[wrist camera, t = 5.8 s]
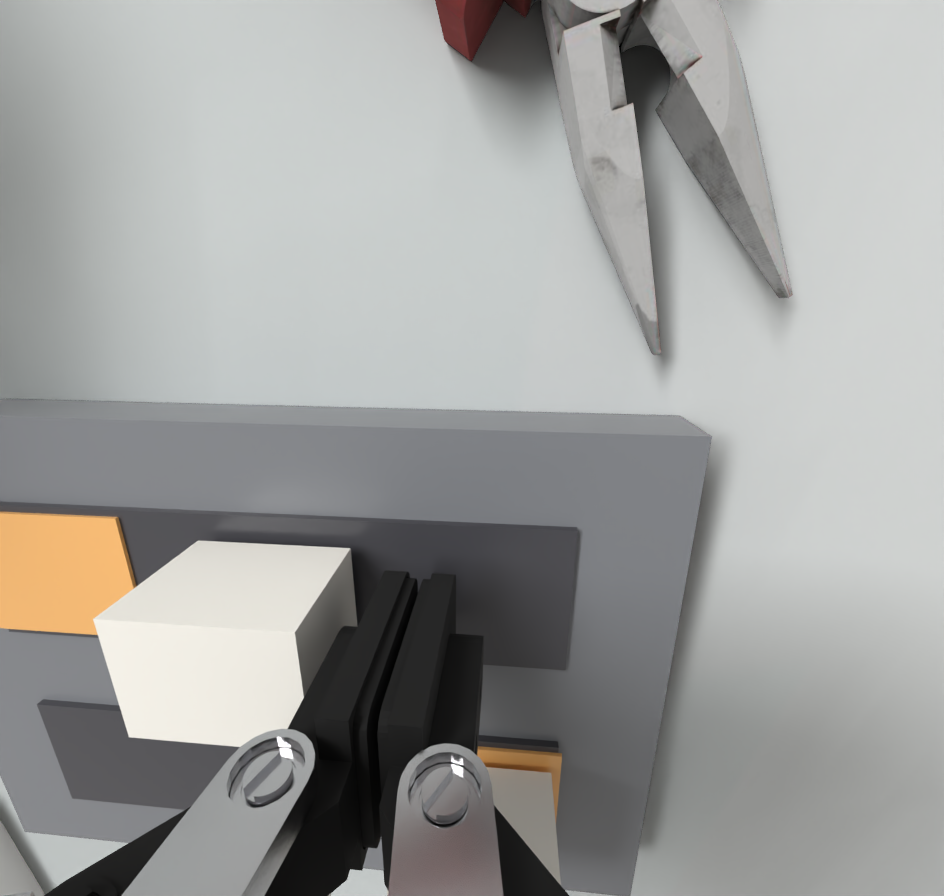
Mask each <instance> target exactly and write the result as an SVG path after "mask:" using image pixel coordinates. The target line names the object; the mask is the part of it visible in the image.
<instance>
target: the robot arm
mask: <svg viewBox="0 0 944 896" xmlns="http://www.w3.org/2000/svg"><path fill="white" fill-rule="evenodd" d="M483 655H484V636H480V635H466V634H456V575H455V574H440V573H432V575H431V578H430V579H423V580H422V583H421V586H420V589H419V592H418V582H417V579H416V578H410V574H409V572H407V571H391V570H386V571H384V573H383V575H382V577H381V579H380V581H379V583H378V585H377V587H376V589H375V591H374V594H373V596H372V598H371V600H370V602H369V604H368V606H367V608H366V610H365V612H364V614H363V617H362V619H361V621H360V623H359V625H358V627H354V626H344V627H342V628H341V629H340V631H339V632H338V634H337V636H336V638H335V640H334V642H333V644H332V645H331V647H330V649H329V651H328V653H327V655H326V657H325V659H324V661H323V662H322V664H321V666H320V668H319V670H318V672H317V674H316V676H315V678H314V679H313V681H312V683H311V685H310V687H309V689H308V691H307V693H306V695H305V696H304V698H303V700H302V702H301V704H300V706H299V708H298V710H297V712H296V714H295V715H294V717H293V719H292V721H291V723H290V725H289V727H288V729H278V730H273V731H268V732H265V733H263V734H261V735H259V736H256V737H254V738H252V739H251V740H250V741H248V742H247V743H245V744H244V745H242V746H241V747H240V748H239V749H238V750H237V751H236V752H235V753H234V754H233V755H232V756H231V757H230V758H229V759H228V760H227V762H226V763H225V764H224V765H223V767H222V768H221V769H220V770H219V772H218V773H217V774H216V776H215V777H214V778H213V779H212V781H211V782H210V783H209V785H208V786H207V787H206V788H205V790H204V791H203V792H202V793H201V795H200V796H199V797H198V799H197V800H196V801H195V802H194V804H193V805H192V806H191V807H189V808H187V809H186V810H184V811H182V812H181V813H179V814H177V815H176V816H174V817H172V818H171V819H169V820H167V821H166V822H164V823H162V824H160V825H159V826H157V827H155V828H154V829H152V830H150V831H149V832H147V833H145V834H144V835H142V836H140V837H139V838H137V839H135V840H134V841H132V842H130V843H128V844H127V845H125V846H123V847H122V848H120V849H118V850H117V851H115V852H113V853H112V854H110V855H108V856H107V857H105V858H103V859H102V860H100V861H98V862H96V863H95V864H93V865H91V866H90V867H88V868H86V869H85V870H83V871H81V872H80V873H78V874H76V875H75V876H73V877H71V878H70V879H68V880H66V881H65V882H63V883H62V884H60V885H59V886H57V887H56V888H55V889H53V890H52V891H50V892H49V893H48V894H46V895H45V896H331V892H333V891H334V890H335V889H336V888H337V887H339V886H340V885H341V884H342V883H343V882H345V881H346V880H347V877H348V874H349V870H350V869H354V870H362V869H363V865H364V862H365V858H366V854H367V850H368V848H376V849H377V847H378V845H379V842H380V839H382V853H383V868H384V882H385V886H386V887H387V889H388V891H389V892H388V896H569V895H568V894H567V893H566V891H565V890H564V889H563V888H562V886H561V885H560V884H559V883H558V882H557V880H556V879H555V878H554V877H553V876H552V874H551V873H550V872H549V871H548V870H547V868H546V867H545V866H544V865H543V863H542V862H541V861H540V860H539V859H538V857H537V856H536V855H535V854H534V853H533V851H532V850H531V849H530V848H529V847H528V845H527V844H526V843H525V842H524V840H523V839H522V838H521V837H520V836H519V834H518V833H517V832H516V831H515V830H514V828H513V827H512V826H511V825H510V824H509V822H508V821H507V820H506V819H505V818H504V816H503V815H502V814H501V813H500V811H499V810H498V809H497V808H496V807H495V805H494V802H493V792H492V784H491V780H490V776H489V772H488V770H487V768H486V766H485V765H484V763H483V762H482V760H481V758H479V757H478V756H477V752H478V739H479V725H480V712H481V698H482V681H483ZM5 896H35V895H34V893H33V891H29V892H23V893H17V894H11V895H5Z"/></svg>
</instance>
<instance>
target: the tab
mask: <svg viewBox="0 0 944 896" xmlns="http://www.w3.org/2000/svg"><path fill="white" fill-rule="evenodd" d="M93 621H94V624H95V627H96V631H97V634H98V637H99V640H100V644H101V647H102V650H103V654H104V657H105V660H106V663H107V667H108V670H109V673H110V677H111V680H112V683H113V686H114V690H115V693H116V696H117V700H118V703H119V706H120V709H121V713H122V716H123V719H124V723H125V726H126V729H127V732H128V736H129V737H131V738H143V739H154V740H166V741H177V742H188V743H200V744H211V745H222V746H234V747H241V746H242V745H244V744H245V743H247V742H248V741H250V740H251V739H252V738H254V737H256V736H259V735H261V734H263V733H265V732H268V731H273V730H278V729H288V727H289V725H290V723H291V721H292V719H293V717H294V715H295V714H296V712H297V710H298V708H299V706H300V704H301V702H302V700H303V698H304V696H305V695H306V693H307V691H308V689H309V687H310V685H311V683H312V681H313V679H314V678H315V676H316V674H317V672H318V670H319V668H320V666H321V664H322V662H323V661H324V659H325V657H326V655H327V653H328V651H329V649H330V647H331V645H332V644H333V642H334V640H335V638H336V636H337V634H338V632H339V631H340V629H341V628H342V627H344V626H354V627H358V626H357V615H356V603H355V592H354V581H353V569H352V558H351V548H336V547H317V546H297V545H277V544H257V543H237V542H217V541H197V542H195V543H194V544H193V545H191V546H190V547H189V548H187V549H186V550H185V551H183V552H182V553H181V554H179V555H178V556H177V557H175V558H174V559H173V560H171V561H170V562H169V563H167V564H166V565H165V566H163V567H162V568H161V569H159V570H158V571H157V572H155V573H154V574H153V575H151V576H150V577H149V578H147V579H146V580H145V581H143V582H142V583H141V584H139V585H138V586H137V587H135V588H134V589H133V590H131V591H130V592H129V593H127V594H126V595H125V596H123V597H122V598H121V599H119V600H118V601H117V602H115V603H114V604H113V605H111V606H110V607H109V608H107V609H106V610H105V611H103V612H102V613H101V614H99V615H98V616H97V617H95V618H94V619H93Z"/></svg>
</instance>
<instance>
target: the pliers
mask: <svg viewBox="0 0 944 896" xmlns="http://www.w3.org/2000/svg"><path fill="white" fill-rule="evenodd" d="M435 1H436V6H437V10H438V14H439V19H440V23H441V27H442V32H443V36H444V40H445V41H446V42H447V43H448V44H449V45H451V46H452V47H453V48H454V49H456V50H457V51H458V52H460V53H461V54H462V55H463V56H465V57H466V58H467V59H469V60H470V61H472V60H473V58H474V56H475V54H476V52H477V50H478V48H479V46H480V45H481V43H482V41H483V39H484V37H485V35H486V33H487V31H488V30H489V28H490V26H491V24H492V22H493V20H494V18H495V16H496V15H497V13H498V11H499V9H500V7H501V5H502V3H503V1H504V2H506V3H507V4H508V5H509V6H511V7H512V8H513V9H515V10H516V11H517V12H518V13H520V14H521V15H522V16H523V17H526V15H527V14H528V12H529V10H530V7H532V5H533V3H534V2H535V0H435ZM541 10H542V16H543V21H544V26H545V31H546V36H547V41H548V46H549V51H550V56H551V61H552V66H553V71H554V76H555V81H556V86H557V91H558V96H559V102H560V106H561V111H562V116H563V121H564V125H565V130H566V134H567V139H568V144H569V148H570V153H571V157H572V162H573V165H574V169H575V173H576V177H577V180H578V182H579V185H580V187H581V190H582V192H583V194H584V197H585V199H586V201H587V204H588V206H589V208H590V211H591V213H592V215H593V218H594V220H595V222H596V225H597V227H598V229H599V232H600V234H601V236H602V239H603V241H604V243H605V246H606V248H607V250H608V253H609V255H610V257H611V259H612V262H613V264H614V266H615V269H616V271H617V273H618V276H619V278H620V280H621V283H622V285H623V287H624V290H625V292H626V294H627V297H628V299H629V301H630V304H631V306H632V308H633V311H634V313H635V315H636V318H637V320H638V322H639V325H640V327H641V329H642V332H643V334H644V336H645V339H646V341H647V343H648V346H649V348H650V350H651V353H652V354H653V355H659V354H661V347H660V337H659V327H658V317H657V307H656V297H655V287H654V278H653V268H652V258H651V248H650V238H649V228H648V218H647V209H646V199H645V189H644V179H643V172H642V164H641V157H640V149H639V142H638V135H637V127H636V120H635V113H634V105H633V103H631V104H628V105H627V99H626V93H625V86H624V79H623V72H622V65H621V59H620V52H619V45H620V44H621V43H622V42H623V44H622V46H621V48H620V50H621V52H622V53H623V52H624V51H625V50H627V49H629V48H631V47H634V46H637V45H647V46H652V47H654V48H656V49H657V50H659V51H660V52H661V53H662V54H663V55H664V57H665V58H666V60H667V62H668V65H669V69H670V75H671V76H670V86H669V89H668V92H667V94H666V96H665V97H664V99H663V100H662V101H661V103H660V104H659V106H658V107H657V108H656V112H657V114H658V115H659V117H660V119H661V120H662V122H663V124H664V125H665V127H666V129H667V131H668V132H669V134H670V136H671V137H672V139H673V141H674V142H675V144H676V146H677V147H678V149H679V151H680V152H681V154H682V156H683V157H684V159H685V161H686V162H687V164H688V165H689V167H690V168H691V170H692V171H693V173H694V174H695V176H696V177H697V179H698V180H699V182H700V183H701V184H702V186H703V187H704V189H705V190H706V192H707V193H708V195H709V196H710V198H711V199H712V201H713V202H714V204H715V205H716V206H717V208H718V209H719V211H720V212H721V214H722V215H723V217H724V218H725V220H726V221H727V223H728V224H729V226H730V227H731V228H732V230H733V231H734V233H735V234H736V236H737V237H738V239H739V240H740V242H741V243H742V245H743V246H744V248H745V249H746V251H747V252H748V253H749V255H750V256H751V258H752V259H753V261H754V262H755V264H756V265H757V267H758V268H759V270H760V271H761V273H762V274H763V275H764V277H765V278H766V280H767V281H768V283H769V284H770V286H771V287H772V289H773V290H774V292H775V293H776V295H777V296H778V297H779V298H788V297H790V296H792V295H793V294H792V290H791V285H790V281H789V276H788V271H787V267H786V262H785V257H784V253H783V248H782V244H781V239H780V234H779V230H778V225H777V221H776V216H775V211H774V207H773V202H772V197H771V193H770V188H769V184H768V179H767V174H766V170H765V165H764V161H763V156H762V151H761V147H760V142H759V137H758V133H757V128H756V124H755V119H754V114H753V110H752V105H751V100H750V96H749V91H748V87H747V82H746V77H745V73H744V69H743V66H742V62H741V59H740V55H739V51H738V48H737V46H736V43H735V41H734V38H733V36H732V33H731V31H730V28H729V26H728V23H727V21H726V19H725V16H724V14H723V11H722V9H721V7H720V4H719V2H718V0H541Z"/></svg>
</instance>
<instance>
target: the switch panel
mask: <svg viewBox="0 0 944 896" xmlns="http://www.w3.org/2000/svg"><path fill="white" fill-rule="evenodd" d="M711 439H712V436H710V435H709V434H707V433H706V432H704V431H703V430H701V429H699V428H698V427H696V426H695V425H693V424H692V423H690V422H689V421H687V420H686V419H684V418H683V417H681V416H674V415H634V414H594V413H554V412H514V411H473V410H433V409H393V408H353V407H313V406H273V405H232V404H192V403H152V402H112V401H72V400H32V399H0V776H1V778H2V780H3V783H4V785H5V787H6V790H7V792H8V794H9V797H10V799H11V801H12V803H13V806H14V808H15V810H16V813H17V815H18V817H19V819H20V822H21V824H22V826H23V829H24V831H25V832H32V833H41V834H50V835H60V836H69V837H78V838H88V839H97V840H106V841H115V842H125V843H130V842H132V841H134V840H135V839H137V838H139V837H140V836H142V835H144V834H145V833H147V832H149V831H150V830H152V829H154V828H155V827H157V826H159V825H160V824H162V823H164V822H166V821H167V820H169V819H171V818H172V817H174V816H176V815H177V814H179V813H181V812H182V811H184V810H186V809H187V808H189V807H191V806H192V805H193V804H194V802H195V801H196V800H197V799H198V797H199V796H200V795H201V793H202V792H203V791H204V790H205V788H206V787H207V786H208V785H209V783H210V782H211V781H212V779H213V778H214V777H215V776H216V774H217V773H218V772H219V770H220V769H221V768H222V767H223V765H224V764H225V763H226V762H227V760H228V759H229V758H230V757H231V756H232V755H233V754H234V753H235V752H236V751H237V750H238V749H239V748H240V747H234V746H222V745H211V744H200V743H188V742H177V741H166V740H154V739H143V738H131V737H129V736H128V732H127V729H126V726H125V723H124V719H123V716H122V713H121V709H120V706H119V703H118V700H117V696H116V693H115V690H114V686H113V683H112V680H111V677H110V673H109V670H108V667H107V663H106V660H105V657H104V654H103V650H102V647H101V644H100V640H99V637H98V634H97V631H96V627H95V624H94V621H93V619H94V618H95V617H97V616H98V615H99V614H101V613H102V612H103V611H105V610H106V609H107V608H109V607H110V606H111V605H113V604H114V603H115V602H117V601H118V600H119V599H121V598H122V597H123V596H125V595H126V594H127V593H129V592H130V591H131V590H133V589H134V588H135V587H137V586H138V585H139V584H141V583H142V582H143V581H145V580H146V579H147V578H149V577H150V576H151V575H153V574H154V573H155V572H157V571H158V570H159V569H161V568H162V567H163V566H165V565H166V564H167V563H169V562H170V561H171V560H173V559H174V558H175V557H177V556H178V555H179V554H181V553H182V552H183V551H185V550H186V549H187V548H189V547H190V546H191V545H193V544H194V543H195V542H197V541H217V542H237V543H257V544H277V545H297V546H317V547H336V548H351V558H352V569H353V581H354V592H355V603H356V615H357V626H358V625H359V623H360V621H361V619H362V617H363V614H364V612H365V610H366V608H367V606H368V604H369V602H370V600H371V598H372V596H373V594H374V591H375V589H376V587H377V585H378V583H379V581H380V579H381V577H382V575H383V573H384V571H386V570H391V571H407V572H409V574H410V578H416V579H417V582H418V592H419V589H420V586H421V583H422V580H423V579H430V578H431V575H432V573H440V574H455V575H456V634H466V635H480V636H484V655H483V681H482V698H481V712H480V725H479V739H478V752H477V756H478V757H479V758H481V760H482V762H483V763H484V765H485V766H486V767H491V768H503V769H514V770H525V771H537V772H548V773H551V775H552V787H553V798H554V810H555V822H556V833H557V845H558V857H559V868H560V880H561V886H562V888H563V889H564V890H571V891H580V892H589V893H598V894H608V895H617V896H630V894H631V888H632V883H633V877H634V871H635V866H636V860H637V854H638V849H639V843H640V838H641V832H642V826H643V821H644V815H645V809H646V804H647V798H648V793H649V787H650V781H651V776H652V770H653V764H654V759H655V753H656V748H657V742H658V736H659V731H660V725H661V720H662V714H663V708H664V703H665V697H666V691H667V686H668V680H669V675H670V669H671V663H672V658H673V652H674V646H675V641H676V635H677V630H678V624H679V618H680V613H681V607H682V601H683V596H684V590H685V585H686V579H687V573H688V568H689V562H690V557H691V551H692V545H693V540H694V534H695V528H696V523H697V517H698V512H699V506H700V500H701V495H702V489H703V483H704V478H705V472H706V467H707V461H708V455H709V450H710V444H711ZM363 868H366V869H376V870H384V868H383V853H382V839H380V842H379V845H378V847H377V849H376V848H368V850H367V854H366V858H365V862H364V865H363Z"/></svg>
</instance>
